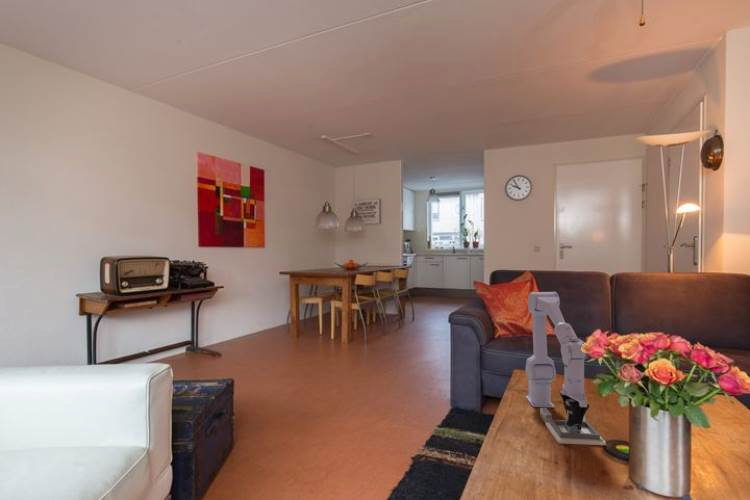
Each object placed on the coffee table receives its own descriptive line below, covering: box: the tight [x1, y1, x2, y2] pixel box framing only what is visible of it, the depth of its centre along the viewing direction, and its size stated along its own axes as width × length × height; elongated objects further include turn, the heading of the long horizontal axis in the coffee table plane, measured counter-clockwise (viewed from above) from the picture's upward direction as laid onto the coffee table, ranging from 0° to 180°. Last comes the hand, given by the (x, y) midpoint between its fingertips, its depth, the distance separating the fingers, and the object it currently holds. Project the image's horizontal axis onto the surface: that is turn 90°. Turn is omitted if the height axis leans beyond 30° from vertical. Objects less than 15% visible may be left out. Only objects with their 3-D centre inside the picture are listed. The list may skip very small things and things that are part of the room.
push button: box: [562, 399, 584, 433], centre depth 124 cm, size 7×5×10 cm
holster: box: [539, 407, 586, 424], centre depth 135 cm, size 6×13×3 cm, turn 84°
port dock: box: [545, 419, 607, 446], centre depth 125 cm, size 12×14×2 cm
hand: (574, 419), depth 125 cm, fingers closed on push button, 5 cm apart
